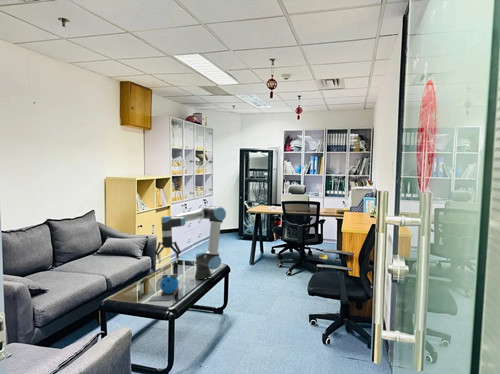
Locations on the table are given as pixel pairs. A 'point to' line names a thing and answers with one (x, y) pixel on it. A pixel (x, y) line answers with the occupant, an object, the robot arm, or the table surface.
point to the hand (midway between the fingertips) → (168, 262)
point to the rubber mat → (161, 298)
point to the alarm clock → (169, 283)
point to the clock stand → (173, 292)
